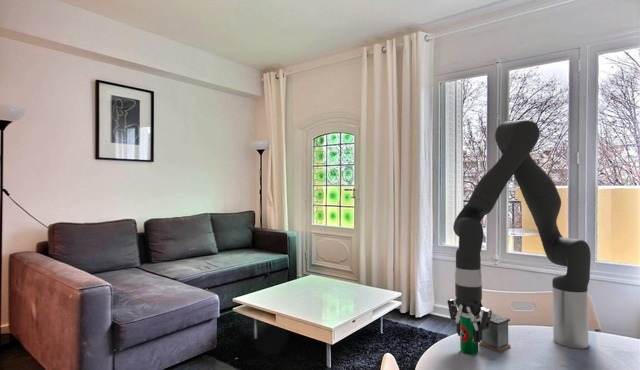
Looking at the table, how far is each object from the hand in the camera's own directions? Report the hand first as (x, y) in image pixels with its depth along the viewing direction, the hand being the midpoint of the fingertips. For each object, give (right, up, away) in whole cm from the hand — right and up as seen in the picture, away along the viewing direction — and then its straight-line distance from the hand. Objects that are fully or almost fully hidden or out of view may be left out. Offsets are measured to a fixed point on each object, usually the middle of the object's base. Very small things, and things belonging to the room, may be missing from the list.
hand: (469, 338), depth 109 cm
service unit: (+10, -4, +4) cm, 11 cm away
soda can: (0, -4, 0) cm, 4 cm away
